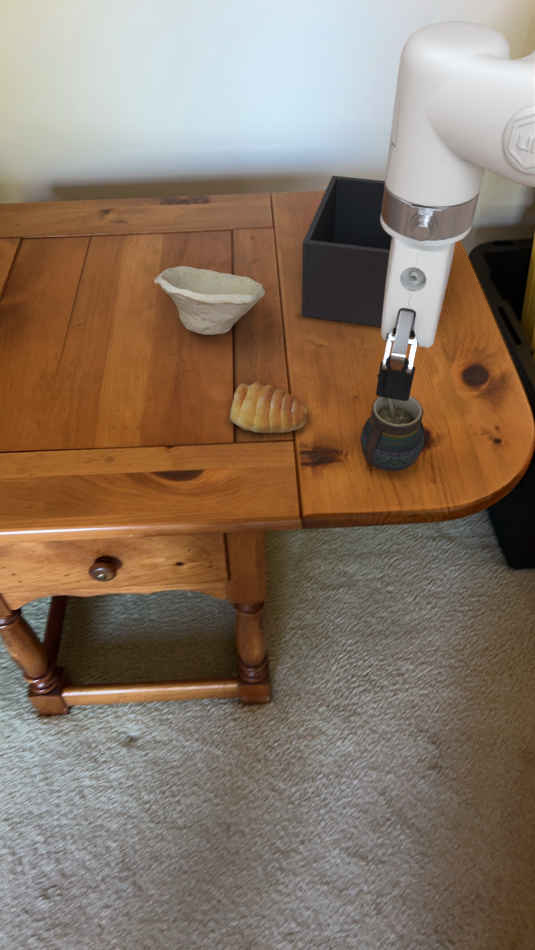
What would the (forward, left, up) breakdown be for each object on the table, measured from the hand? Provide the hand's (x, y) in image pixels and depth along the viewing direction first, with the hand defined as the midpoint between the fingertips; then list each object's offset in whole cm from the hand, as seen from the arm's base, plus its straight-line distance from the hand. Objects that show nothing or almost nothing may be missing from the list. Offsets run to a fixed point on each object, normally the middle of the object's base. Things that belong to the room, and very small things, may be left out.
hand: (399, 364), depth 67 cm
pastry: (+16, -3, -14) cm, 21 cm away
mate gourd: (0, 0, -14) cm, 14 cm away
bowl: (+28, -19, -14) cm, 36 cm away
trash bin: (+8, -33, -14) cm, 37 cm away
